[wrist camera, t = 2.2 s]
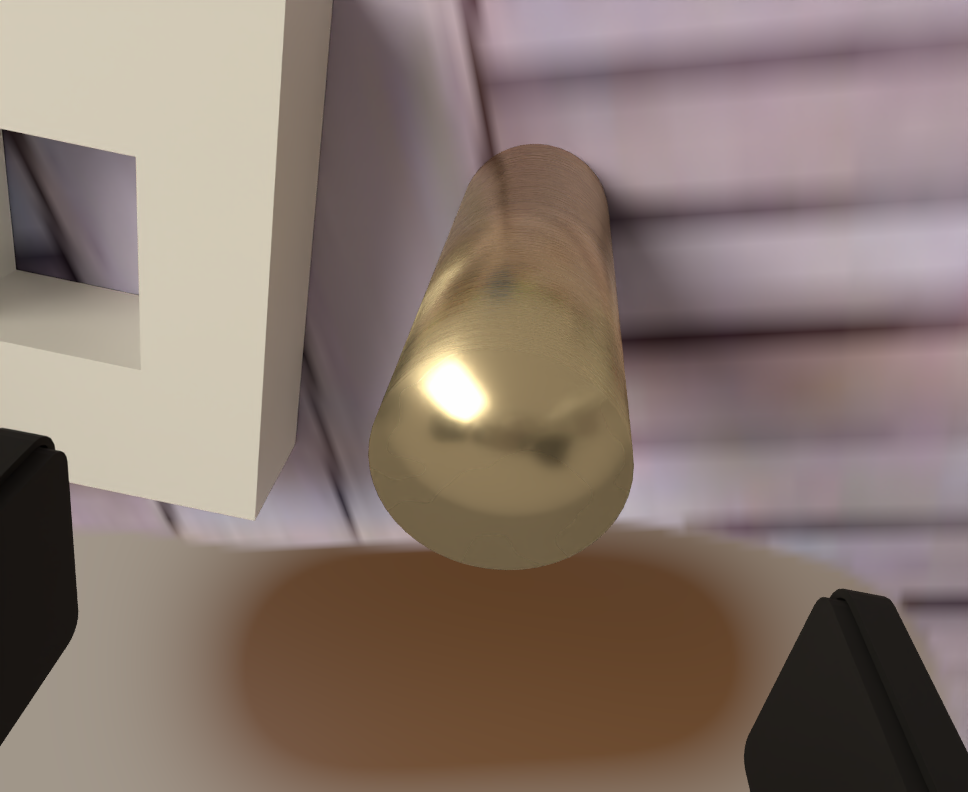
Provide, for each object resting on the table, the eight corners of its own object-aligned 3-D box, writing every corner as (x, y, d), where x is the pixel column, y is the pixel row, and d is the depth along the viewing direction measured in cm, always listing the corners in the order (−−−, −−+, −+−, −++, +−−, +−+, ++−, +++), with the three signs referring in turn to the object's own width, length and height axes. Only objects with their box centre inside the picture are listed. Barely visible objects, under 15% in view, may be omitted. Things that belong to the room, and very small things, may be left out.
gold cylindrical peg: (625, 161, 22) (667, 380, 12) (588, 299, 24) (596, 591, 14) (475, 129, 22) (385, 322, 12) (450, 271, 24) (355, 542, 14)
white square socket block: (335, -28, 21) (286, -16, 17) (295, 444, 28) (254, 521, 24) (-153, -132, 21) (-300, -140, 17) (-70, 369, 28) (-162, 434, 24)
